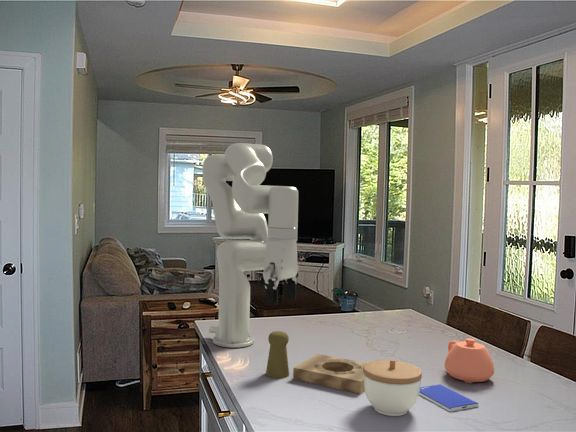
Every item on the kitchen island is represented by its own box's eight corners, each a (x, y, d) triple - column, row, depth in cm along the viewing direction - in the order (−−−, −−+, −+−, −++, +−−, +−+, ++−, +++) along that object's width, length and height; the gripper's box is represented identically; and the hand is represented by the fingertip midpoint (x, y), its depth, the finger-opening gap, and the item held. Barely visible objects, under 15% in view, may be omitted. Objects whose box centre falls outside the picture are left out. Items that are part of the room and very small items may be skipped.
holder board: (293, 379, 138) (293, 367, 138) (317, 364, 150) (317, 353, 150) (360, 393, 130) (360, 381, 129) (380, 377, 142) (380, 365, 142)
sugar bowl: (469, 389, 135) (470, 348, 135) (429, 371, 148) (431, 334, 147) (504, 382, 141) (506, 342, 140) (463, 366, 153) (465, 329, 153)
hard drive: (414, 387, 132) (450, 407, 121) (441, 383, 135) (478, 402, 124) (414, 394, 132) (449, 414, 121) (441, 390, 135) (478, 409, 124)
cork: (292, 372, 144) (293, 330, 143) (284, 379, 138) (285, 336, 137) (270, 369, 146) (271, 328, 145) (262, 376, 140) (263, 333, 139)
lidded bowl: (408, 426, 112) (410, 373, 112) (352, 412, 119) (354, 361, 118) (427, 407, 123) (430, 358, 122) (375, 394, 130) (377, 348, 129)
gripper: (285, 232, 149) (284, 295, 150) (252, 235, 134) (250, 305, 135) (310, 233, 146) (309, 298, 146) (279, 237, 131) (277, 309, 131)
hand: (281, 301), depth 141 cm, fingers open, 9 cm apart
